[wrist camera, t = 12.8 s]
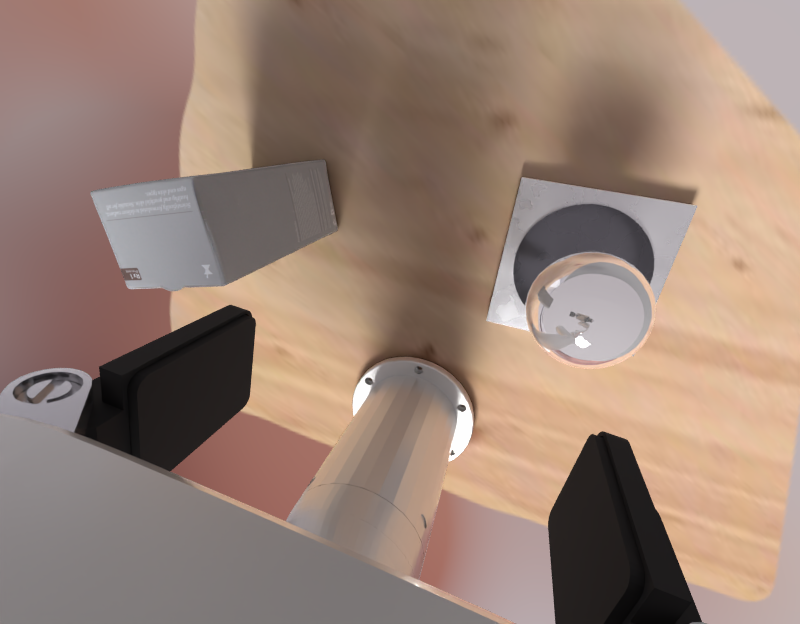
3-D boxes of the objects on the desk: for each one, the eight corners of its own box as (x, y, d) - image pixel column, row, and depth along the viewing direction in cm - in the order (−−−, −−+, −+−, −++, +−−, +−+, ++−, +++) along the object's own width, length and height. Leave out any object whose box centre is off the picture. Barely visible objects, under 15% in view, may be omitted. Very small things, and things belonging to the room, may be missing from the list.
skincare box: (328, 158, 35) (193, 158, 21) (341, 240, 37) (229, 290, 23) (246, 170, 38) (77, 177, 23) (264, 246, 40) (119, 295, 26)
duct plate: (630, 350, 33) (634, 357, 32) (487, 316, 36) (485, 322, 35) (692, 204, 29) (699, 206, 28) (521, 176, 31) (521, 177, 30)
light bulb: (529, 226, 31) (533, 262, 20) (629, 230, 29) (691, 272, 18) (520, 310, 34) (518, 382, 23) (611, 319, 32) (657, 401, 21)
